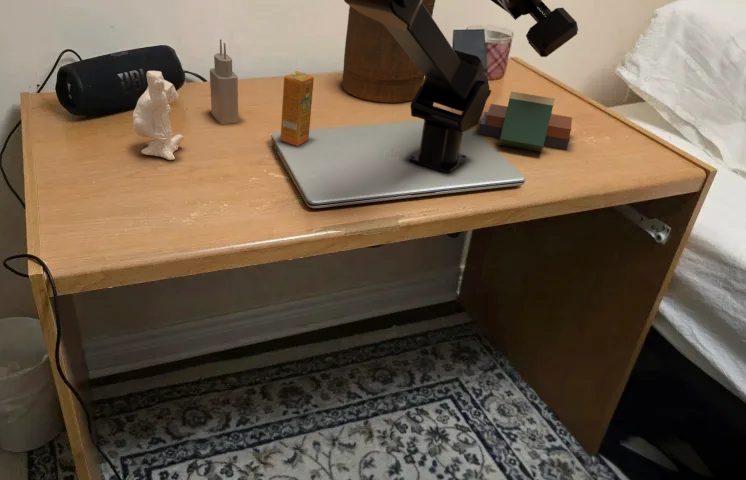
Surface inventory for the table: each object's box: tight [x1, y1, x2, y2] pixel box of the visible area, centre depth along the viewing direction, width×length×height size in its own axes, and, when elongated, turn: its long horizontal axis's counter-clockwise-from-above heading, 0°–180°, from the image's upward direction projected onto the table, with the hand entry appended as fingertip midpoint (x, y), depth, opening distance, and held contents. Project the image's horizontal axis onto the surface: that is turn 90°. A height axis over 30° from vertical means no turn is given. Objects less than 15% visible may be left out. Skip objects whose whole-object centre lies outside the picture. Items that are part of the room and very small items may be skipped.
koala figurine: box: [132, 70, 184, 161], centre depth 90 cm, size 8×7×12 cm
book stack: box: [477, 103, 573, 151], centre depth 107 cm, size 6×14×4 cm, turn 72°
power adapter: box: [209, 38, 239, 125], centre depth 103 cm, size 3×5×12 cm, turn 26°
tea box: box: [498, 91, 556, 153], centre depth 102 cm, size 7×6×8 cm
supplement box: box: [280, 70, 315, 147], centre depth 97 cm, size 3×3×10 cm
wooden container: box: [341, 0, 436, 104], centre depth 116 cm, size 15×15×22 cm
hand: (534, 33), depth 106 cm, fingers open, 9 cm apart
